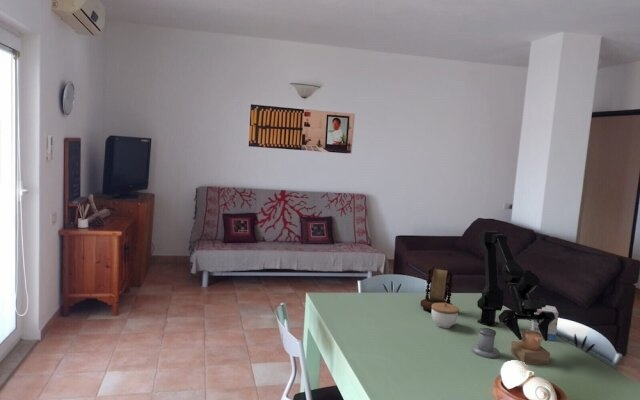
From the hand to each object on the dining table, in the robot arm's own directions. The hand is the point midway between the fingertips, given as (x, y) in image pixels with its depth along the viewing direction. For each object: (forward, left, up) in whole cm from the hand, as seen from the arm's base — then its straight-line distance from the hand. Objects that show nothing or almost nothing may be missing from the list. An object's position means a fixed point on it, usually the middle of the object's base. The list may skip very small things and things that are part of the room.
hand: (533, 340), depth 158 cm
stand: (-1, -1, -7) cm, 7 cm away
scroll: (-18, -48, -7) cm, 52 cm away
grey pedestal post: (+8, -13, -7) cm, 17 cm away
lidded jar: (-3, -36, -7) cm, 37 cm away
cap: (-1, -1, -3) cm, 3 cm away
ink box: (-28, -6, -7) cm, 30 cm away
